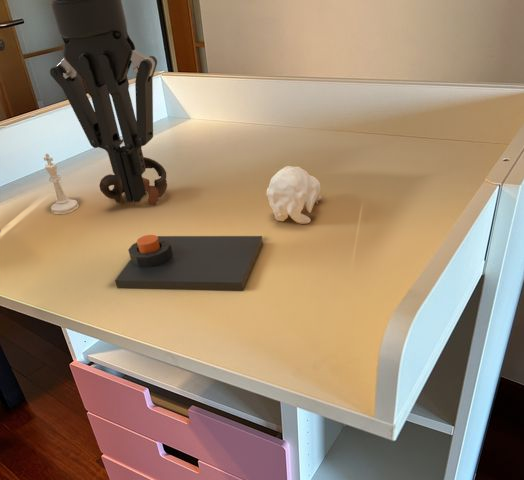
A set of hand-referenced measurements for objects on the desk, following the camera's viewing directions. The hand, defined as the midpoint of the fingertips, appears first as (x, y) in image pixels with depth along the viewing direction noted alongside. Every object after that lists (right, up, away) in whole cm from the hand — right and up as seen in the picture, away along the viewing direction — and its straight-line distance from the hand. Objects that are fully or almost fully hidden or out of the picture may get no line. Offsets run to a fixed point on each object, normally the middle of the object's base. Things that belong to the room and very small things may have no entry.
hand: (136, 197), depth 76 cm
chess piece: (-19, +5, +27) cm, 34 cm away
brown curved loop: (-6, +6, +27) cm, 28 cm away
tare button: (+1, -6, +5) cm, 8 cm away
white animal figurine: (+23, +1, +15) cm, 28 cm away
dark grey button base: (+7, -8, +5) cm, 12 cm away
